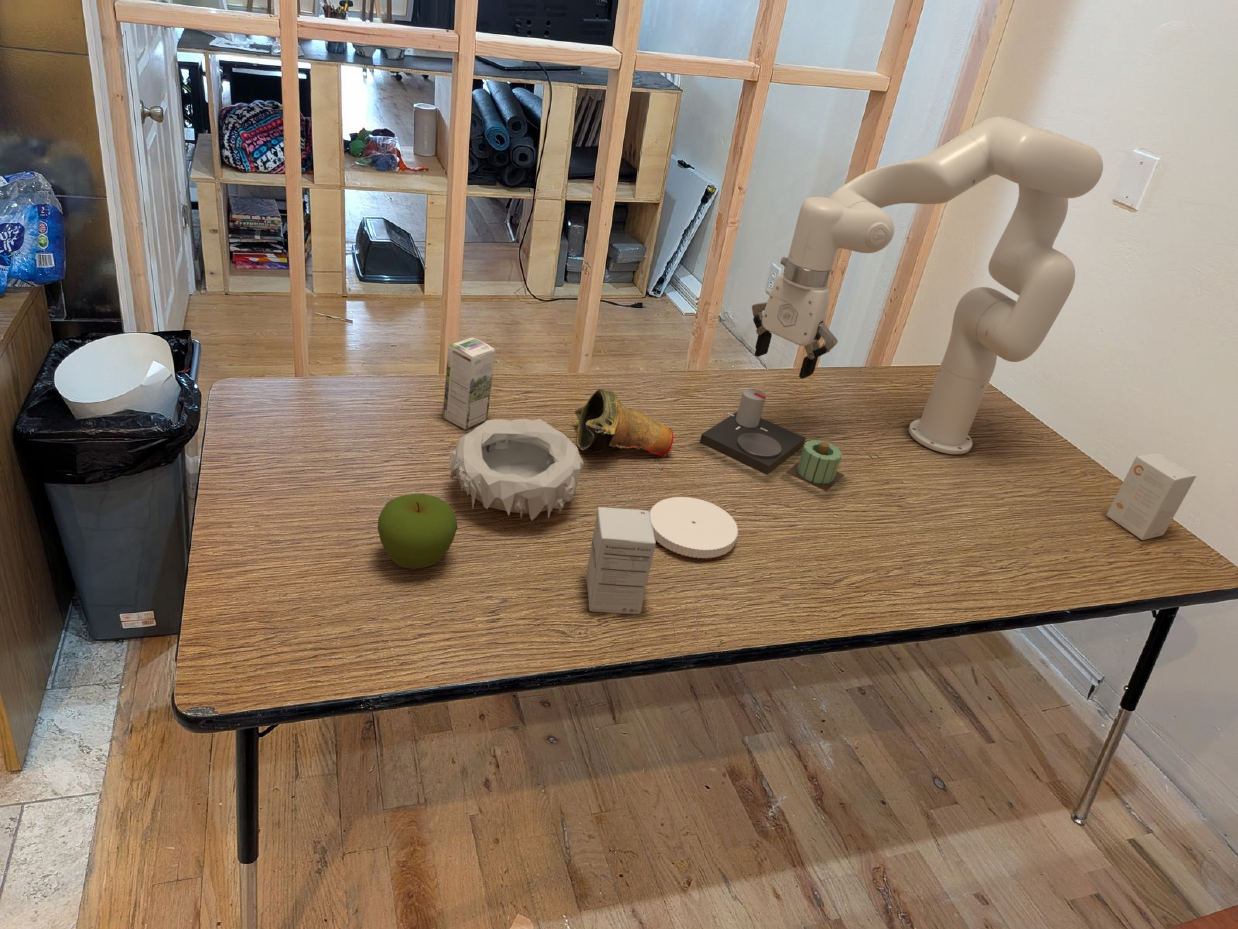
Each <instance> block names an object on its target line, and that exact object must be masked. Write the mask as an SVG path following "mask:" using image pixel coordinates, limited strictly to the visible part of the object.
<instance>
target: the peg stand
mask: <svg viewBox="0 0 1238 929" xmlns="http://www.w3.org/2000/svg"><path fill="white" fill-rule="evenodd" d="M828 443H829V442H828ZM828 443H827V442H826V441H825V442H820V444H819V447H818V450H817V453H819V454H821V455H826V456H827V453H828V450H829V447H830V445H829V444H828ZM798 464H799V461H798V462H796V463H795V464H794V465H793V466H792V467H790V468H789V469H788V470H786V471H785V473H786V474H787V475H790V476H792V477H794V478H796V479H799V480H800V481H803V482H805V483H807V484H810V485H811V486H813V487H816V488H818V489H819V490H822V491H824V492H826V493H827V492H828V491H830V489H831V488H832V487H834V486H835V484H837V483H838V482H839V481H840V480H841V479H842V478H844V477H845V474H843V473H841V472H839V471H837V472H836V475H835V478H834V480H833V481H832V482H831V483H827V484H822V483H821V484H819V483H814V482H813V481H812V482H811V481H808V480H806V479H804V478H805V477H802V476H801V475H800V474H799V472H798V471H797V467H798Z"/></svg>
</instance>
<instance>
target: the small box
mask: <svg viewBox="0 0 1238 929" xmlns="http://www.w3.org/2000/svg"><path fill="white" fill-rule="evenodd" d="M1196 478H1197V475H1196V474H1194V473H1193V472H1191V471H1189V470H1187V469H1186V468H1184V467H1182V466H1181V465H1179V464H1178V463H1175V462H1174V461H1172V460H1171V459H1169V458H1168V457H1166V456H1164V455H1162V454H1161V453H1159V452H1155V453H1149V454H1148V453H1147V454H1142V455H1136V456H1135V459H1134V460H1133V461H1132V464H1131V466H1130V468H1129V470H1128V472H1127V473H1126V476H1125V478H1124V479H1123V482H1122V483H1121V485H1120V487H1119V489H1118V491H1117V493H1116V495H1115V497H1114V498H1113V500H1112V502H1111V504H1110V506H1109V508H1108V510H1107V512H1106V514H1105V516H1106V517H1107V518H1109V519H1110V520H1111V521H1113V522H1114V523H1116V524H1117V525H1119V526H1121V527H1122V528H1123V529H1125V530H1126V531H1128V532H1129V533H1131V534H1132V535H1134V536H1135V537H1137V538H1138V539H1139V540H1141V541H1144V540H1148V539H1153V538H1157V537H1161V536H1164V535H1165V533H1166V532H1167V530H1168V528H1169V527H1170V524H1171V523H1172V522H1173V519H1174V518H1175V516H1176V514H1177V512H1178V510H1179V508H1180V507H1181V504H1182V503H1183V501H1184V500H1185V498H1186V496H1187V494H1188V492H1189V490H1190V489H1191V487H1192V485H1193V483H1194V482H1195V479H1196Z"/></svg>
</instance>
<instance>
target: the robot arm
mask: <svg viewBox="0 0 1238 929" xmlns="http://www.w3.org/2000/svg"><path fill="white" fill-rule="evenodd" d="M1103 170H1104V163H1103V158H1102V156H1101V154H1100V153H1099V151H1098V150H1097V149H1095V148H1094V147H1093V146H1090V145H1089V144H1086V143H1082V142H1081V141H1078V140H1075V139H1072V138H1069V137H1067V136H1065V135H1062V134H1059V133H1058V132H1054V131H1052V130H1048V129H1043V128H1037V127H1035V126H1032V125H1029V124H1026V123H1023V122H1021V121H1019V120H1016V119H1013V118H1010V117H1006V116H1001V115H1000V116H997V115H996V116H992V117H988V118H986V119H984V120H982V121H980V122H979V123H977V124H975V125H973V126H972V127H970V128H968V129H967V130H965V131H964V132H962V133H960V134H958V135H957V136H955V137H954V138H952V139H949V141H947V142H945V143H944V144H942V145H939V146H938V147H937V148H935V149H934V150H932V151H930V152H928V153H927V154H925V155H923V156H921V157H917V158H912V159H908V160H903V161H899V162H896V163H892V164H888V165H883V166H880V167H877V168H874V169H871V170H869V171H866V172H864V173H862V174H860V175H858V176H857V177H855V178H853V179H852V180H850V181H848V182H847V183H845V184H843V185H842V186H840V187H839V188H837V189H836V190H835V191H834V192H833V193H831V194H830V195H829V197H824V196H810V197H807V198H806V199H804V200H803V202H802V203H801V206H800V209H799V213H798V216H797V219H796V225H795V229H794V233H793V237H792V240H791V245H790V248H789V252H788V256H787V257H785V256H783V257H781V259H780V262H779V263H780V265H781V266H783V267H784V269H783V272H782V273H779V274H778V275H777V277H776V279H775V282H774V284H773V285H772V288H771V290H770V293H769V296H768V298H767V301H766V302H758V303H754V304H752V305H751V311H752V315H753V318H752V321H753V323H754V325H755V328H756V330H755V332H756V334H757V338H756V342H755V346H754V348H755V351H754V356H755V357H757V358H758V357H761V356H764V355H767V354H768V352H769V348H770V345H771V341H772V337H773V335H776V336H778V337H780V338H782V339H784V340H786V341H789V342H790V343H793V344H795V345H798V346H799V347H800V346H801V347H803V348H804V349H805V353H806V355H807V356H804V357H803V360H802V363H801V367H800V370H799V374H798V377H799V379H802V380H803V379H805V378H808V377H810V376H812V375H813V374H814V372H815V369H816V366H817V364H818V360H819V358H820V357H821V356H824V355H825V354H828V353H830V351H831V350H832V349H833V348H834V347H835V346H836V345H837V344H838V342H839V341H838V339H837V337H836V336H835V335H834V333H833V332H832V331H831V330H830V329H829V327H827V325H826V322H827V317H828V311H829V306H830V305H829V304H830V294H831V291H830V290H831V288H830V286H828V285H829V281H830V278H831V273H832V271H833V267H834V263H835V260H836V256H837V254H838V249H842V250H847V251H852V252H856V253H860V254H873V253H877V252H880V251H881V250H883V249H885V248H886V247H887V246H888V245H889V244H891V242H892V240H893V238H894V234H895V224H894V220H893V219H892V217H891V215H889V213H888V212H887V211H885V210H884V209H883V208H885V207H889V206H894V205H900V204H916V205H917V204H919V205H940V204H946V203H948V202H950V201H952V200H954V199H955V198H957V197H958V196H960V195H962V194H963V193H965V192H967V191H969V190H970V189H972V188H974V187H975V186H978V184H980V183H982V182H983V181H986V180H987V179H989V178H990V177H992V176H996V175H997V176H999V177H1002V178H1003V179H1005V180H1008V181H1009V182H1012V183H1015V184H1017V185H1018V198H1017V202H1016V206H1015V207H1014V210H1013V212H1012V214H1011V217H1010V219H1009V221H1008V223H1007V224H1006V227H1005V228H1004V230H1003V232H1002V235H1001V237H1000V238H999V240H998V242H997V244H996V246H995V248H994V250H993V252H992V254H991V256H990V259H989V262H988V274H989V276H990V277H991V278H992V279H993V280H994V281H995V282H996V283H998V284H1000V285H1001V286H1002V287H1004V288H1005V289H1007V290H1009V291H1011V292H1012V293H1014V294H1015V295H1017V296H1018V298H1017V300H1014V299H1013V298H1012V297H1011V296H1008V295H1006V294H1005V293H1003V292H1001V291H1000V290H998V289H995V288H992V287H988V286H978V287H975V288H973V289H970V290H968V291H966V293H965V294H964V295H963V296H962V297H961V298H959V301H958V303H957V305H956V307H955V310H954V313H953V318H952V326H951V332H950V337H949V340H948V343H947V347H946V350H945V352H944V355H943V358H942V360H941V362H940V365H939V369H938V371H937V374H936V376H935V379H934V382H933V385H932V387H931V389H930V393H929V395H928V398H927V401H926V404H925V406H924V409H923V412H922V414H921V417H920V418H918V419H915V420H913V421H911V422H910V424H909V427H908V433H909V435H910V437H911V438H912V439H913V440H914V441H915V442H917V443H918V444H920V445H922V446H924V447H925V448H927V449H930V450H932V451H934V452H937V453H942V454H947V455H964V454H967V453H969V452H970V451H971V449H972V447H973V440H972V438H971V437H970V436H969V433H970V430H971V428H972V425H973V423H974V421H975V418H976V415H977V413H978V411H979V408H980V406H981V403H982V402H983V398H984V396H985V393H986V390H987V388H988V386H989V383H990V382H991V379H992V377H993V374H994V372H995V368H996V365H997V359H998V357H999V358H1001V359H1003V360H1004V361H1006V362H1011V363H1019V362H1023V361H1025V360H1027V359H1028V358H1030V357H1031V356H1032V355H1033V354H1034V353H1036V352H1037V350H1038V349H1039V348H1040V346H1041V345H1042V344H1043V342H1044V340H1045V339H1046V337H1047V335H1048V333H1049V332H1050V330H1051V328H1052V326H1053V325H1054V323H1055V322H1056V320H1057V318H1058V316H1059V315H1060V312H1061V311H1062V309H1063V308H1064V305H1065V304H1066V302H1067V300H1068V298H1069V296H1070V295H1071V292H1072V290H1073V288H1074V285H1075V280H1076V269H1075V265H1074V263H1073V261H1072V259H1071V258H1069V257H1068V256H1067V255H1066V254H1064V253H1063V252H1061V251H1059V250H1057V249H1055V248H1053V247H1054V245H1055V241H1056V238H1057V237H1058V236H1059V233H1060V231H1061V229H1062V227H1063V226H1064V225H1063V224H1064V222H1065V220H1066V218H1067V215H1068V208H1069V199H1076V198H1079V197H1082V196H1084V195H1086V194H1087V193H1090V191H1092V190H1093V189H1094V188H1095V187H1096V186H1097V184H1098V183H1099V181H1100V180H1101V178H1102V175H1103ZM821 338H822V339H823V340H824V343H823V345H822V346H821V345H820V342H819V341H820V340H821Z"/></svg>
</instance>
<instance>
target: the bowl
mask: <svg viewBox="0 0 1238 929" xmlns="http://www.w3.org/2000/svg"><path fill="white" fill-rule="evenodd" d="M449 460H450V464H449V468H450V474H451V475H450V476H449V478H450V479H452V480H453V479H454V477H455V476H456V478H457V480H458V484H459V485H460V488H461V490H463V491H465V492H466V497H467V498H469V496H471V505H472V507H471V508H474V506H475V502H476V500H477V501H479V502H481V503H482V506H483V508H485V509H486V510H488V509H489V508H491V509H495V510H500V511H505V512H506V514H507V515H508V516H510V514H511V513H514V514H519V515H520V519H522V517H523V514H528V515H529V518H530V520H531V521H534V520H535V519H536V518H537V517H538V516H539V515H540V513H541V512H544V511H547V519H549V518H550V515H551V512H553V511H554V509H555V510H557V513H559V514H560V512H562V509H563V508H564V505H565V503H569V502H570V501H572V500H573V497H574V494H575V491H576V488H577V486H578V485H579V481H580V480H579V479H580V473H582V472H583V469H584V464H585V463H584V461H583V458H582V457H581V455H580V452H579V447H577V445H576V444H575V443H574V442H573V441H572V440H571V439H570V438H569V437H568V436H567V435H566V434H565V433H564V432H562V431H560V430H558V429H557V428H554V426H552V425H550V424H549V423H547V422H546V421H544V420H543V419H541V418H538V419H528V418H515V419H512V420H511V419H510V420H508V419H500V418H494V419H487V421H485V422H482V423H480V424H479V425H477V426H476V427H475V428H474V429H473V430H471V431H469V432H468V433H466V434H464V435H463V436H461V437H460V438H458V439H457V442H456V447H455V449H453V450H451V453H449Z"/></svg>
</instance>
